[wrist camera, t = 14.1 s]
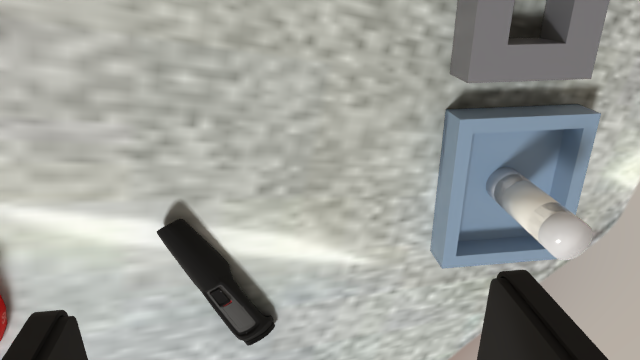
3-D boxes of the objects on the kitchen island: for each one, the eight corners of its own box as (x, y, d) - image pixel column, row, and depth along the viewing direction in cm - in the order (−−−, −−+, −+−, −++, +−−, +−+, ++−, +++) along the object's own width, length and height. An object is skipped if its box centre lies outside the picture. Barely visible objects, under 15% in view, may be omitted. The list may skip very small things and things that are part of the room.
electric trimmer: (187, 201, 40) (181, 218, 37) (278, 320, 46) (279, 342, 43) (150, 221, 40) (142, 240, 37) (245, 336, 47) (244, 360, 44)
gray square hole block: (464, -65, 34) (486, -69, 31) (591, -64, 35) (625, -68, 32) (449, 73, 38) (467, 83, 35) (563, 70, 39) (590, 78, 36)
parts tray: (445, 109, 39) (460, 119, 36) (577, 104, 40) (601, 113, 38) (430, 250, 45) (441, 268, 42) (546, 241, 46) (564, 258, 44)
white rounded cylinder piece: (488, 168, 41) (554, 223, 32) (522, 165, 42) (597, 219, 33) (483, 200, 43) (545, 261, 34) (516, 198, 43) (586, 258, 34)
